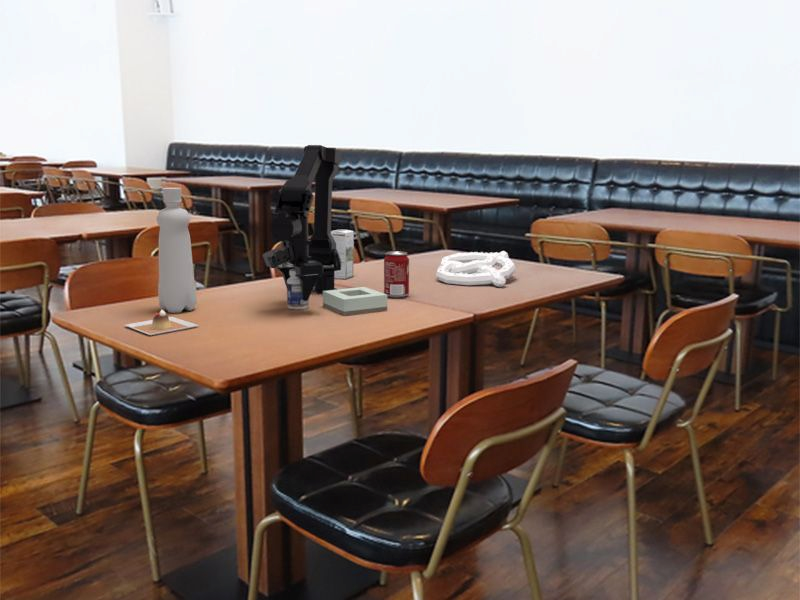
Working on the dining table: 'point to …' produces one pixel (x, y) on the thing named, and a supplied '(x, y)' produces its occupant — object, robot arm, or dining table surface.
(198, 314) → the dining table surface
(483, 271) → the white coiled rope knot
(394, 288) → the soda can
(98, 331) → the dining table surface
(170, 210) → the bottle
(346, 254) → the syrup box
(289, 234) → the robot arm
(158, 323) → the dessert
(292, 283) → the pill bottle
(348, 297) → the bore block
